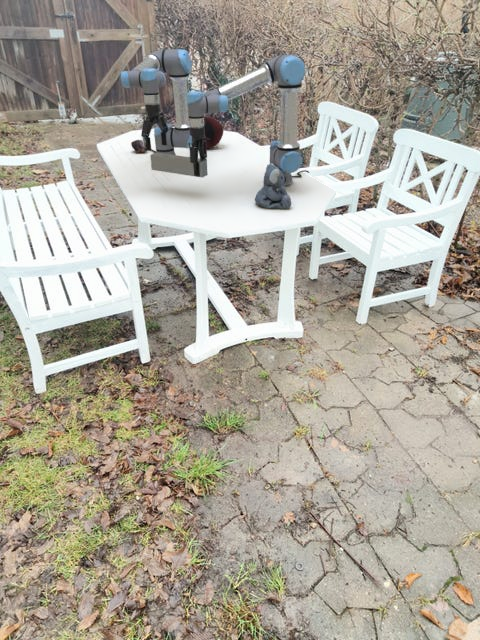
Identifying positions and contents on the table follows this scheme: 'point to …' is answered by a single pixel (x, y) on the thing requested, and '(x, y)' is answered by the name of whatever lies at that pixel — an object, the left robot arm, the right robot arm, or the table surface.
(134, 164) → the table surface
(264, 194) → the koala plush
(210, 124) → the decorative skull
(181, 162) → the bar
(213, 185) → the table surface
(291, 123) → the right robot arm
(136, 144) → the rock
